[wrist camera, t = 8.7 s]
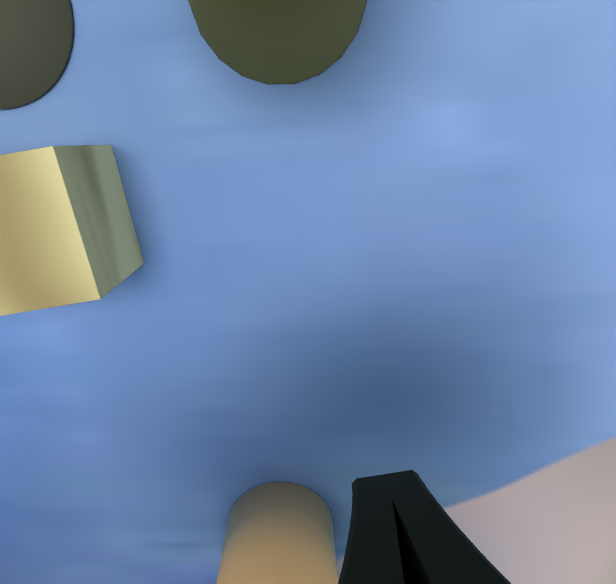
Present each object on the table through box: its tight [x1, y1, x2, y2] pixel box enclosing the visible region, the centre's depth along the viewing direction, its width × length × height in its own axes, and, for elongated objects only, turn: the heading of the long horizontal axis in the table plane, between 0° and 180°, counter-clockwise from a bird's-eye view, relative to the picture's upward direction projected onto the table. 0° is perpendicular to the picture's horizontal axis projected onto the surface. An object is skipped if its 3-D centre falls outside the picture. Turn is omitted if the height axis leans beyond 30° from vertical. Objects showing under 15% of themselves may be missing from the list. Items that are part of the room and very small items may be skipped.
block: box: [0, 145, 144, 316], centre depth 16 cm, size 4×4×4 cm
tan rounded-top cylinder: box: [216, 482, 338, 584], centre depth 20 cm, size 5×5×5 cm
